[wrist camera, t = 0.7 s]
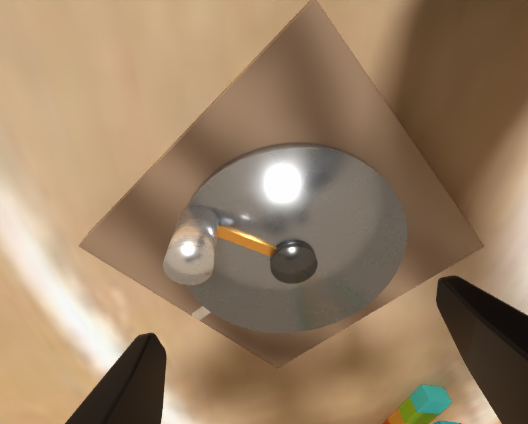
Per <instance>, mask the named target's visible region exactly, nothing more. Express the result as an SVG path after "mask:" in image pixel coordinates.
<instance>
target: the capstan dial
mask: <svg viewBox="0 0 528 424" xmlns="http://www.w3.org/2000/svg"><path fill="white" fill-rule="evenodd" d="M406 243H407V222H406V217H405V213H404V210H403V207H402V204H401V202H400V200H399V198H398V196H397V195H396V193H395V191H394V190H393V189H392V187H391V186H390V185H389V184H388V183H387V181H386V180H385V179H384V178H383V177H382V176H381V175H380V174H379V172H377V171H376V170H375V169H374V168H373V167H372V166H370V165H369V164H368V163H367V162H365V161H363V160H362V159H360V158H359V157H357V156H355V155H353V154H351V153H349V152H346V151H344V150H342V149H339V148H335V147H331V146H328V145H324V144H316V143H309V142H289V143H281V144H273V145H269V146H265V147H261V148H258V149H254V150H252V151H249V152H247V153H244V154H242V155H239V156H238V157H236V158H234V159H232V160H230V161H229V162H227V163H225V164H224V165H222V166H221V167H220V168H218V169H217V170H216V171H214V172H213V173H212V174H211V175H210V176H209V177H208V178H207V179H206V180H205V181H204V182H203V183H202V184H201V185H200V186H199V187H198V189H197V190H196V191H195V193H194V194H193V195H192V197H191V199H190V201H189V203H188V205H187V206H186V208H185V209H184V210H183V211H182V212H181V214H180V215H179V218H178V221H177V224H176V227H175V230H174V233H173V236H172V238H171V241H170V244H169V247H168V250H167V253H166V256H165V258H164V261H163V269H164V271H165V273H166V275H167V276H168V277H169V278H170V279H171V280H173V281H175V282H177V283H179V284H183V285H186V287H187V288H188V290H189V291H190V292H191V294H192V295H193V296H194V298H195V299H196V300H197V301H198V302H199V303H200V304H201V305H202V306H203V307H205V308H206V309H207V310H209V311H210V312H211V313H213V314H214V315H216V316H218V317H219V318H221V319H223V320H225V321H227V322H229V323H231V324H234V325H237V326H240V327H243V328H246V329H250V330H254V331H261V332H268V333H294V332H303V331H309V330H313V329H318V328H321V327H325V326H328V325H331V324H333V323H336V322H339V321H341V320H343V319H345V318H347V317H349V316H351V315H353V314H355V313H356V312H358V311H359V310H361V309H363V308H364V307H365V306H367V305H368V304H369V303H370V302H372V301H373V300H374V299H375V298H376V297H377V296H378V295H379V294H380V293H381V292H382V291H383V290H384V289H385V288H386V287H387V285H388V284H389V283H390V282H391V280H392V279H393V277H394V275H395V274H396V272H397V270H398V268H399V266H400V264H401V262H402V259H403V256H404V253H405V249H406Z"/></svg>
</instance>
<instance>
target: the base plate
mask: <svg viewBox="0 0 528 424" xmlns="http://www.w3.org/2000/svg"><path fill="white" fill-rule="evenodd" d="M289 142H309V143H316V144H324V145H328V146H331V147H335V148H339V149H342V150H344V151H346V152H349V153H351V154H353V155H355V156H357V157H359V158H360V159H362V160H363V161H365V162H367V163H368V164H369V165H370V166H372V167H373V168H374V169H375V170H376V171H377V172H379V174H380V175H381V176H382V177H383V178H384V179H385V180H386V181H387V183H388V184H389V185H390V186H391V187H392V189H393V190H394V191H395V193H396V195H397V196H398V198H399V200H400V202H401V204H402V207H403V210H404V213H405V217H406V222H407V243H406V249H405V253H404V256H403V259H402V262H401V264H400V266H399V268H398V270H397V272H396V274H395V275H394V277H393V279H392V280H391V282H390V283H389V284H388V285H387V287H386V288H385V289H384V290H383V291H382V292H381V293H380V294H379V295H378V296H377V297H376V298H375V299H374V300H373V301H372V302H370V303H369V304H368V305H367V306H365V307H364V308H363V309H361V310H359V311H358V312H356V313H355V314H353V315H351V316H349V317H347V318H345V319H343V320H341V321H339V322H336V323H333V324H331V325H328V326H325V327H321V328H318V329H313V330H309V331H303V332H294V333H268V332H261V331H254V330H250V329H246V328H243V327H240V326H237V325H234V324H231V323H229V322H227V321H225V320H223V319H221V318H219V317H218V316H216V315H214V314H213V313H211V312H210V311H209V310H207V309H206V308H205V307H203V306H202V305H201V304H200V303H199V302H198V301H197V300H196V299H195V298H194V296H193V295H192V294H191V292H190V291H189V290H188V288H187V287H186V285H183V284H179V283H177V282H175V281H173V280H171V279H170V278H169V277H168V276H167V275H166V273H165V271H164V269H163V261H164V258H165V256H166V253H167V250H168V247H169V244H170V241H171V238H172V236H173V233H174V230H175V227H176V224H177V221H178V218H179V215H180V214H181V212H182V211H183V210H184V209H185V208H186V206H187V205H188V203H189V201H190V199H191V197H192V195H193V194H194V193H195V191H196V190H197V189H198V187H199V186H200V185H201V184H202V183H203V182H204V181H205V180H206V179H207V178H208V177H209V176H210V175H211V174H212V173H213V172H214V171H216V170H217V169H218V168H220V167H221V166H222V165H224V164H225V163H227V162H229V161H230V160H232V159H234V158H236V157H238V156H239V155H242V154H244V153H247V152H249V151H252V150H254V149H258V148H261V147H265V146H269V145H273V144H281V143H289ZM79 247H81V248H82V249H84V250H85V251H87V252H89V253H90V254H92V255H94V256H95V257H97V258H98V259H100V260H102V261H103V262H105V263H107V264H108V265H110V266H112V267H113V268H115V269H116V270H118V271H120V272H121V273H123V274H125V275H126V276H128V277H129V278H131V279H133V280H134V281H136V282H138V283H139V284H141V285H143V286H144V287H146V288H147V289H149V290H151V291H152V292H154V293H156V294H157V295H159V296H160V297H162V298H164V299H165V300H167V301H169V302H170V303H172V304H174V305H175V306H177V307H178V308H180V309H182V310H183V311H185V312H187V313H188V314H190V315H191V316H193V317H195V318H196V319H198V320H200V321H201V322H203V323H205V324H206V325H208V326H209V327H211V328H213V329H214V330H216V331H218V332H219V333H221V334H222V335H224V336H226V337H227V338H229V339H231V340H232V341H234V342H235V343H237V344H239V345H240V346H242V347H244V348H245V349H247V350H249V351H250V352H252V353H253V354H255V355H257V356H258V357H260V358H262V359H263V360H265V361H266V362H268V363H270V364H271V365H273V366H275V367H276V368H279V367H280V366H282V365H284V364H285V363H287V362H289V361H290V360H292V359H294V358H295V357H297V356H299V355H301V354H302V353H304V352H306V351H307V350H309V349H311V348H312V347H314V346H316V345H318V344H319V343H321V342H323V341H324V340H326V339H328V338H329V337H331V336H333V335H334V334H336V333H338V332H340V331H341V330H343V329H345V328H346V327H348V326H350V325H351V324H353V323H355V322H356V321H358V320H360V319H362V318H363V317H365V316H367V315H368V314H370V313H372V312H373V311H375V310H377V309H379V308H380V307H382V306H384V305H385V304H387V303H389V302H390V301H392V300H394V299H395V298H397V297H399V296H401V295H402V294H404V293H406V292H407V291H409V290H411V289H412V288H414V287H416V286H418V285H419V284H421V283H423V282H424V281H426V280H428V279H429V278H431V277H433V276H434V275H436V274H438V273H440V272H441V271H443V270H445V269H446V268H448V267H450V266H451V265H453V264H455V263H456V262H458V261H460V260H462V259H463V258H465V257H467V256H468V255H470V254H472V253H473V252H475V251H477V250H479V249H480V248H482V247H484V245H483V244H482V242H481V241H480V239H479V238H478V236H477V235H476V233H475V232H474V230H473V229H472V227H471V226H470V225H469V223H468V222H467V220H466V219H465V217H464V216H463V214H462V213H461V211H460V210H459V208H458V207H457V205H456V204H455V203H454V201H453V200H452V198H451V197H450V195H449V194H448V192H447V191H446V189H445V188H444V186H443V185H442V183H441V182H440V181H439V179H438V178H437V176H436V175H435V173H434V172H433V170H432V169H431V167H430V166H429V164H428V163H427V161H426V160H425V159H424V157H423V156H422V154H421V153H420V151H419V150H418V148H417V147H416V145H415V144H414V142H413V141H412V139H411V138H410V137H409V135H408V134H407V132H406V131H405V129H404V128H403V126H402V125H401V123H400V122H399V120H398V119H397V117H396V116H395V114H394V113H393V112H392V110H391V109H390V107H389V106H388V104H387V103H386V101H385V100H384V98H383V97H382V95H381V94H380V92H379V91H378V90H377V88H376V87H375V85H374V84H373V82H372V81H371V79H370V78H369V76H368V75H367V73H366V72H365V70H364V69H363V68H362V66H361V65H360V63H359V62H358V60H357V59H356V57H355V56H354V54H353V53H352V51H351V50H350V48H349V47H348V46H347V44H346V43H345V41H344V40H343V38H342V37H341V35H340V34H339V32H338V31H337V29H336V28H335V26H334V25H333V24H332V22H331V21H330V19H329V18H328V16H327V15H326V13H325V12H324V10H323V9H322V7H321V6H320V4H319V3H318V1H317V0H311V1H309V2H308V3H307V4H306V5H305V7H304V8H303V9H302V10H301V11H300V12H299V13H298V14H297V15H296V16H295V17H294V18H293V19H292V20H291V21H290V22H289V23H288V24H287V25H286V26H285V27H284V29H283V30H282V31H281V32H280V33H279V34H278V35H277V36H276V37H275V38H274V39H273V40H272V41H271V42H270V43H269V44H268V45H267V46H266V47H265V48H264V49H263V51H262V52H261V53H260V54H259V55H258V56H257V57H256V58H255V59H254V60H253V61H252V62H251V63H250V64H249V65H248V66H247V67H246V68H245V69H244V70H243V71H242V73H241V74H240V75H239V76H238V77H237V78H236V79H235V80H234V81H233V82H232V83H231V84H230V85H229V86H228V87H227V88H226V89H225V90H224V91H223V92H222V93H221V95H220V96H219V97H218V98H217V99H216V100H215V101H214V102H213V103H212V104H211V105H210V106H209V107H208V108H207V109H206V110H205V111H204V112H203V113H202V114H201V116H200V117H199V118H198V119H197V120H196V121H195V122H194V123H193V124H192V125H191V126H190V127H189V128H188V129H187V130H186V131H185V132H184V133H183V134H182V135H181V136H180V138H179V139H178V140H177V141H176V142H175V143H174V144H173V145H172V146H171V147H170V148H169V149H168V150H167V151H166V152H165V153H164V154H163V155H162V156H161V157H160V158H159V160H158V161H157V162H156V163H155V164H154V165H153V166H152V167H151V168H150V169H149V170H148V171H147V172H146V173H145V174H144V175H143V176H142V177H141V178H140V179H139V180H138V182H137V183H136V184H135V185H134V186H133V187H132V188H131V189H130V190H129V191H128V192H127V193H126V194H125V195H124V196H123V197H122V198H121V199H120V200H119V201H118V203H117V204H116V205H115V206H114V207H113V208H112V209H111V210H110V211H109V212H108V213H107V214H106V215H105V216H104V217H103V218H102V219H101V220H100V221H99V222H98V223H97V225H96V226H95V227H94V228H93V229H92V230H91V231H90V232H89V233H88V234H87V235H86V237H85V238H84V239H83V241H82V242H81V243H80V245H79Z"/></svg>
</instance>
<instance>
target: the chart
mask: <svg viewBox="0 0 528 424" xmlns="http://www.w3.org/2000/svg"><path fill="white" fill-rule="evenodd" d="M450 404H452V402H451V400H450V398H449V396H448V394H447V392H446V391H445V389H444V388H443V387H436V386H429V385H422V384H421V386H420V387H419V388H418V389H417V390H416V391H415V392H414V393H413V394H412V395H411V396H410V397H409V398H408V399H407V400H406V401H405V402H404V403H403V404H402V405H401V406H400V407H399V408H398V409H397V410H396V411H395V412H394V413H393V414H392V415H391V416H390V417H389V418H388V419H387V420H386V421H385V422H384V423H383V424H429V423H430V422H431V421H432V420H433V419H434V418H435V417H437V416H438V415H439V414H440V413H441V412H443V411H444V410H445V409H446V408H447V407H448V406H449V405H450ZM434 424H461V423H455V422H447V421H438V422H436V423H434Z"/></svg>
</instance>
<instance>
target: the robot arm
mask: <svg viewBox="0 0 528 424" xmlns="http://www.w3.org/2000/svg"><path fill="white" fill-rule="evenodd" d="M436 303H437V306H438V309H439V311H440V313H441V315H442V317H443V319H444V321H445V323H446V325H447V328H448V330H449V332H450V334H451V336H452V338H453V340H454V342H455V344H456V346H457V348H458V350H459V352H460V354H461V356H462V358H463V360H464V362H465V364H466V366H467V368H468V369H469V371H470V373H471V375H472V376H473V378H474V379H475V381H476V383H477V384H478V386H479V388H480V389H481V391H482V392H483V394H484V396H485V397H486V399H487V400H488V402H489V404H490V405H491V407H492V409H493V410H494V412H495V413H496V415H497V417H498V418H499V420H500V421H501V423H502V424H528V315H526V314H524V313H523V312H521V311H519V310H517V309H515V308H514V307H512V306H510V305H508V304H507V303H505V302H503V301H501V300H500V299H498V298H496V297H494V296H492V295H491V294H489V293H487V292H485V291H484V290H482V289H480V288H478V287H476V286H475V285H473V284H471V283H469V282H468V281H466V280H464V279H462V278H461V277H458V276H448V277H443V278H440V279H439V280H438V286H437V296H436ZM165 371H166V351H165V349H164V347H163V346H162V344H161V343H160V341H159V340H158V338H157V336H156V335H155V334H154V333H147V334H142V335H139V336H137V337H136V338H135V339H134V341H133V342H132V343H131V344H130V346H129V347H128V348H127V349H126V350H125V352H124V353H123V354H122V355H121V356H120V358H119V359H118V360H117V361H116V362H115V364H114V365H113V366H112V367H111V369H110V370H109V371H108V372H107V373H106V375H105V376H104V377H103V378H102V379H101V381H100V382H99V383H98V384H97V385H96V387H95V388H94V389H93V390H92V391H91V393H90V394H89V395H88V396H87V398H86V399H85V400H84V401H83V402H82V404H81V405H80V406H79V407H78V408H77V410H76V411H75V412H74V413H73V414H72V416H71V417H70V418H69V419H68V420H67V422H66V423H65V424H161V418H162V409H163V397H164V384H165Z"/></svg>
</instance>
